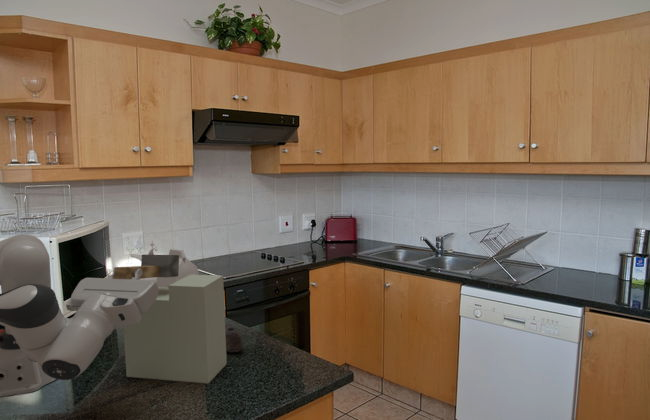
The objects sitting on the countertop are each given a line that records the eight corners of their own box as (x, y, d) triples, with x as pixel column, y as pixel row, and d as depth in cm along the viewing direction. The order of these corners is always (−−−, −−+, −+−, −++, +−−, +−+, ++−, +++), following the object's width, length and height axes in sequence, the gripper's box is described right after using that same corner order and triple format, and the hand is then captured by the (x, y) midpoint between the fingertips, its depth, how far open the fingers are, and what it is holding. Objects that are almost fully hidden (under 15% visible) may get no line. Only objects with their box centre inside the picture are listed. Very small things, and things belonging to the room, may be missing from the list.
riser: (208, 383, 123) (204, 287, 120) (126, 376, 128) (120, 283, 125) (226, 364, 134) (223, 275, 132) (151, 358, 139) (146, 273, 136)
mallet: (134, 280, 112) (135, 255, 113) (104, 279, 114) (106, 254, 114) (178, 276, 133) (179, 255, 133) (152, 275, 134) (153, 254, 135)
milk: (156, 319, 174) (153, 250, 171) (181, 311, 183) (178, 245, 181) (178, 325, 167) (174, 254, 165) (202, 316, 177) (199, 248, 174)
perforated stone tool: (218, 340, 153) (218, 319, 152) (235, 337, 155) (234, 317, 154) (225, 357, 139) (225, 335, 138) (243, 355, 141) (242, 332, 140)
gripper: (68, 319, 111) (99, 277, 121) (145, 323, 106) (171, 280, 117) (56, 300, 107) (90, 259, 118) (136, 304, 103) (163, 261, 114)
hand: (131, 270), depth 118 cm, fingers closed on mallet, 3 cm apart
